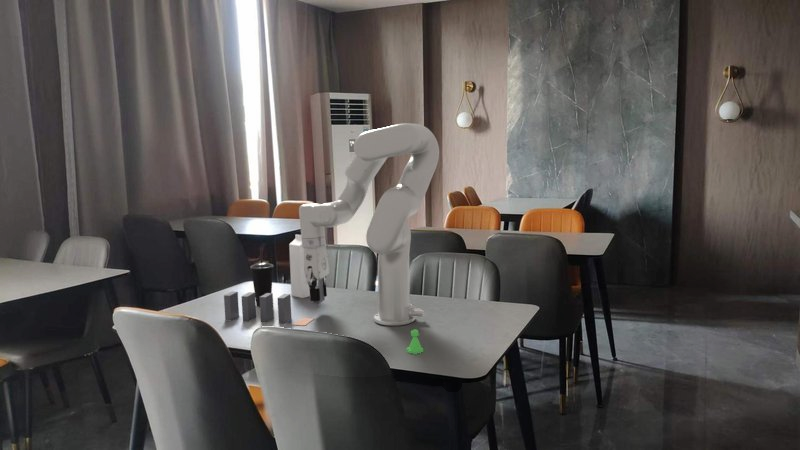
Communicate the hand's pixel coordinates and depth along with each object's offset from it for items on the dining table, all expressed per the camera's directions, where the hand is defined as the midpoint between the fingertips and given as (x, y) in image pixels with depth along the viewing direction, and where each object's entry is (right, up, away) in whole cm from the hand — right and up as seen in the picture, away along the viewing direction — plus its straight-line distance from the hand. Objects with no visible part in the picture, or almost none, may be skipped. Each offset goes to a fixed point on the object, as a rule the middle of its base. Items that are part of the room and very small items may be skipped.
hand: (318, 298), depth 192 cm
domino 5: (0, -1, 0) cm, 1 cm away
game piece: (+30, -10, -36) cm, 48 cm away
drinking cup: (-20, -4, +12) cm, 24 cm away
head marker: (-4, -6, -9) cm, 11 cm away
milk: (-9, -2, +24) cm, 26 cm away
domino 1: (-27, -6, -3) cm, 28 cm away
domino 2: (-21, -6, -4) cm, 22 cm away
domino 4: (-9, -6, -7) cm, 13 cm away
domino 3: (-15, -6, -6) cm, 17 cm away
